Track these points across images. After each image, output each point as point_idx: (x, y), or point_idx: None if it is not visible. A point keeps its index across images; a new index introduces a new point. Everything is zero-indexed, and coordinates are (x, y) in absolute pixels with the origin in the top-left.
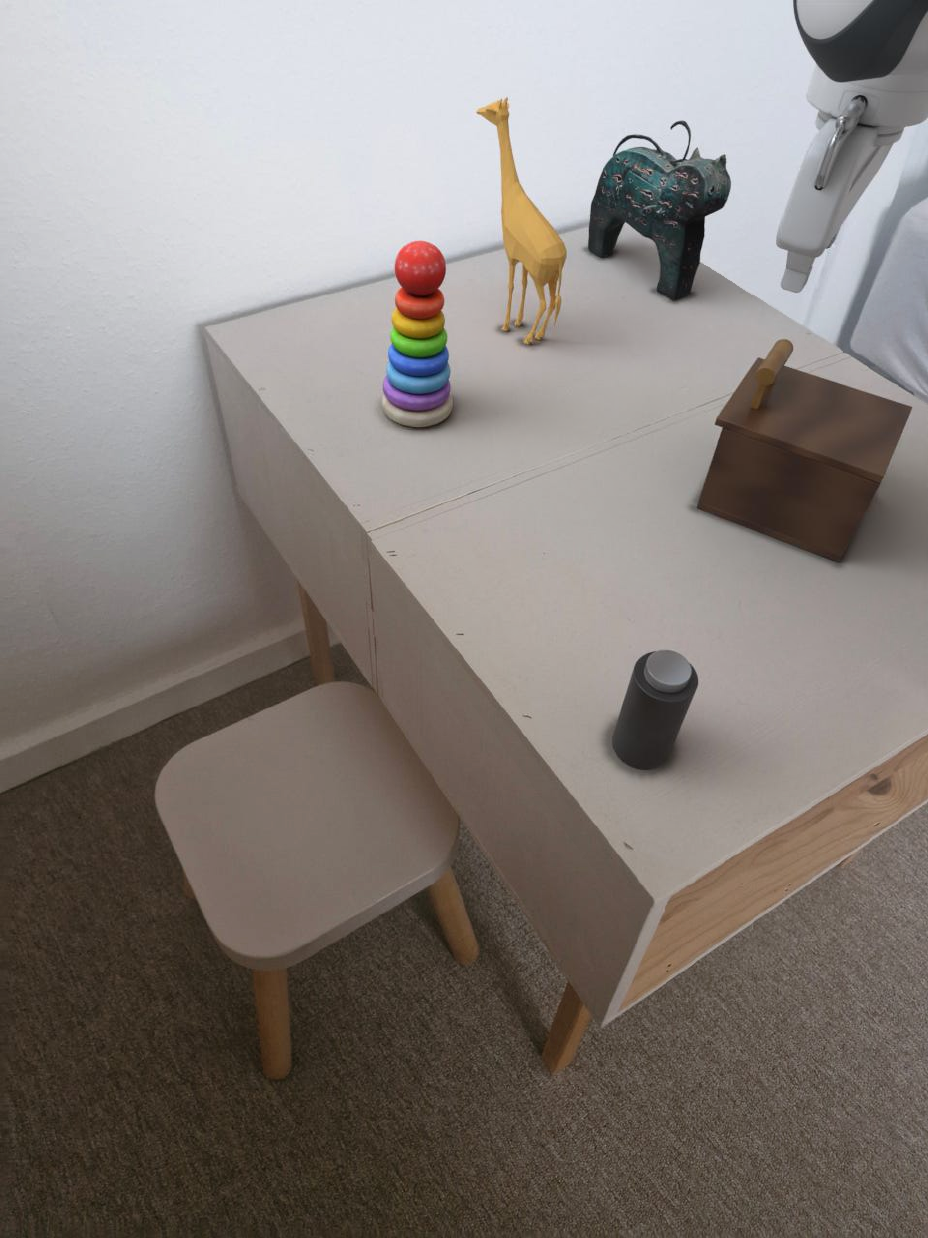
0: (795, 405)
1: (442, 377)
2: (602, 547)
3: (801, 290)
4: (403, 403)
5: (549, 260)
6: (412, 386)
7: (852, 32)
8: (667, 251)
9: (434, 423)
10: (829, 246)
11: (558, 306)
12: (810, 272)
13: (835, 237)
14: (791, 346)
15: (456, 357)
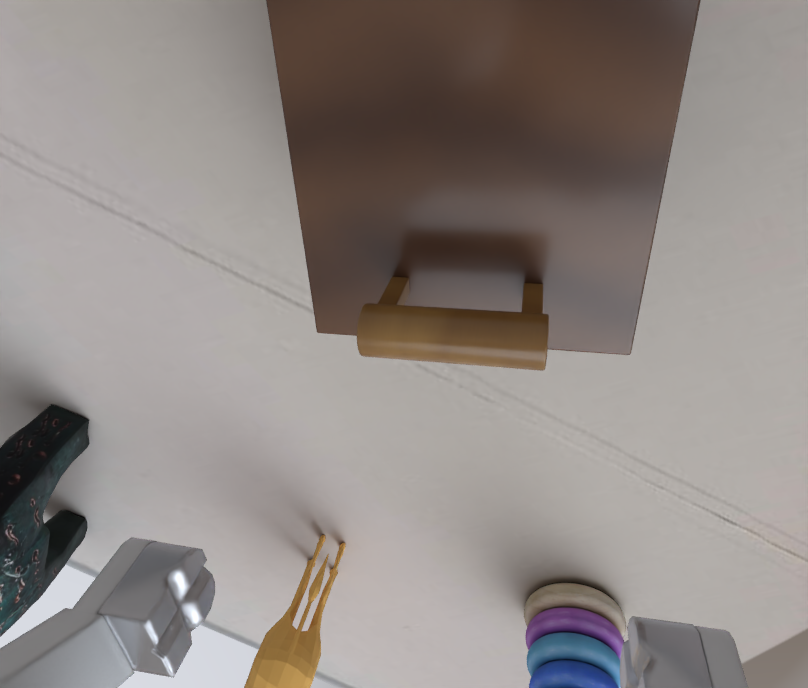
0: (467, 204)
1: (584, 651)
2: (799, 338)
3: (732, 637)
4: None
5: (304, 669)
6: None
7: None
8: (45, 493)
9: (602, 593)
10: (192, 553)
11: (319, 583)
12: (646, 681)
13: (146, 571)
14: (371, 321)
15: (432, 598)
